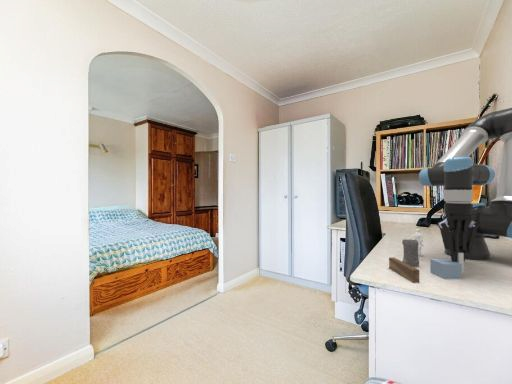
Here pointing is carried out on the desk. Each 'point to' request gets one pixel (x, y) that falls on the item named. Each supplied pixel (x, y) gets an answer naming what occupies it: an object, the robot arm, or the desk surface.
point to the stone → (410, 252)
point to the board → (404, 269)
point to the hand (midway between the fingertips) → (458, 270)
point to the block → (446, 268)
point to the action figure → (419, 239)
